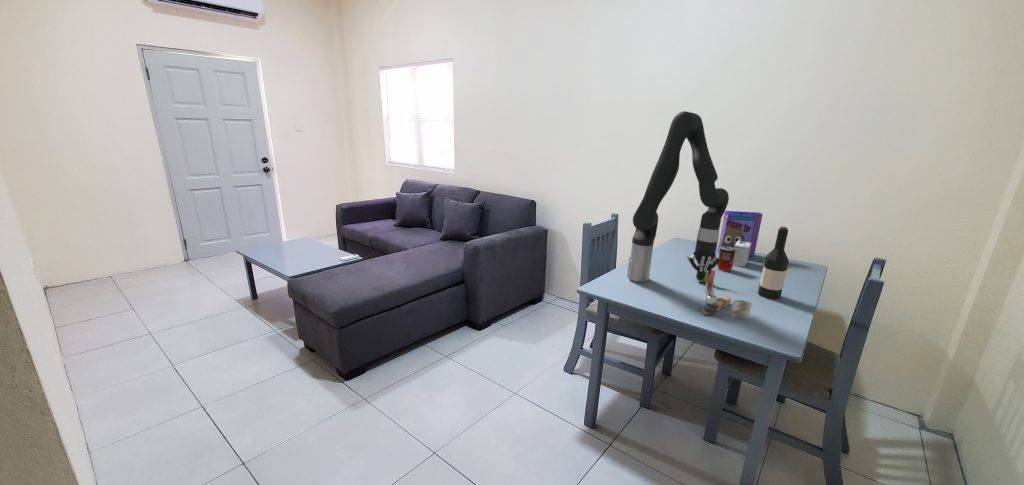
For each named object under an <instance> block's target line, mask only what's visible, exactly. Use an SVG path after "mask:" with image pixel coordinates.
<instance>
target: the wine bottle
mask: <svg viewBox="0 0 1024 485" xmlns="http://www.w3.org/2000/svg"><path fill="white" fill-rule="evenodd" d="M788 234H789V228H788V227H786V226H780V227H779V228H778V230H777V235H776V239H775V243H774V248H773V249H772V250H770V252H768V253H767V254H766V255H765V258H764V261H763V266H762V270H761V271H762V272H761V277H760V281H759V285H758V289H757V290H758V291H757V294H758V295H759V296H760V297H762V298H764V299H768V300H774V301H775V300H779V299H781V297H782V292H783V289H784V284H785V279H786V275H787V270H788V267H789V262H790V260H789V258H788V255H787V253H786V252H785V247H786V242H787V239H788Z"/></svg>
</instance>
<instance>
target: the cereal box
mask: <svg viewBox="0 0 1024 485" xmlns="http://www.w3.org/2000/svg"><path fill="white" fill-rule="evenodd" d="M762 219H763V213H762V212H755V211H739V210H737V211H736V210H725V212H724V214H723V220H722V224H721V232H720V235H719V240H718V242H719V243H718V248H717V253H718V254H719V253H720V248H721V247H723V246H730V247H733V248H734V245H735V244H736V243H737V241H743V242H750V243H751V247H750V251H749V256H748V257H753V258H754V257H755V253H756V248H757V245H758V244H757V243H758V239H759V233H760V230H761V224H762Z"/></svg>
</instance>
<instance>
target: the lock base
mask: <svg viewBox="0 0 1024 485" xmlns="http://www.w3.org/2000/svg"><path fill="white" fill-rule="evenodd" d="M731 299H732V298H731V297H729V296H726V295H721V296H720V297H717V302H716V306H709V305H707V304H706V303H705V306H698V310H699V311H700V313H701V314H702V315H703V316H704V317H705V316H707V317H721V313H720V312H719V311H720V310H722V309H723V308H725V307H726V306H728V305H730V304H731V307H730V312H729V316H730V317H731V318H732V319H750V314H751V308H752V305H753V303H752V301H750V300H740V299H732V302H731Z"/></svg>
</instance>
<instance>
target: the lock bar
mask: <svg viewBox="0 0 1024 485" xmlns="http://www.w3.org/2000/svg"><path fill="white" fill-rule="evenodd" d="M707 273H708V274H707V280H706V282H705V288H704V294H705V305H706V304H707V305H709V306H716V302H717V299H718V297H717V296H716V293H715V289H714V280H715V275H716V271H715V270H713V269H712V270H711V271H709V270H708V271H707Z"/></svg>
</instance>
